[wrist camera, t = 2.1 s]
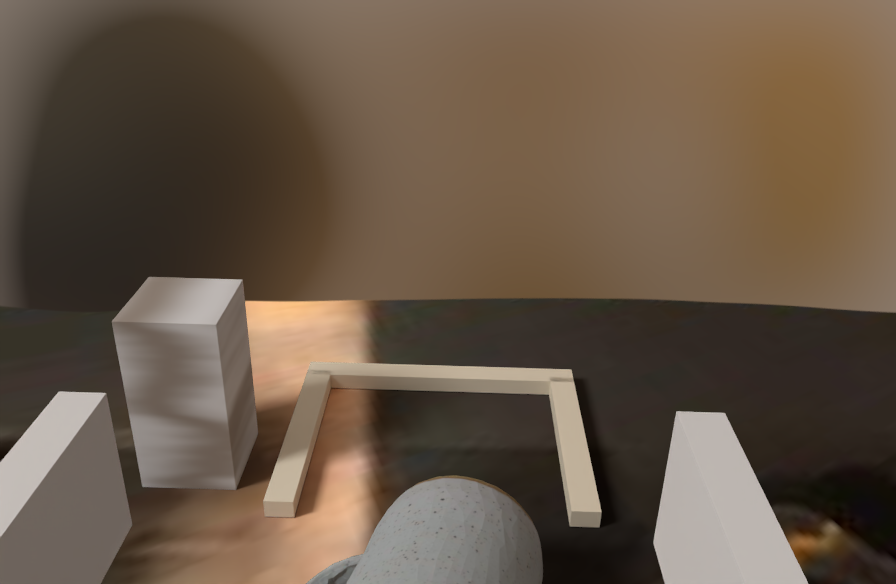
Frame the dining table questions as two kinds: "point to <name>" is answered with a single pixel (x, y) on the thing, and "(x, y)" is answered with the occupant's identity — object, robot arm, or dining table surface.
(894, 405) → the dining table surface
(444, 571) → the ceramic mug
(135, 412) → the grey block
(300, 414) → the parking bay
